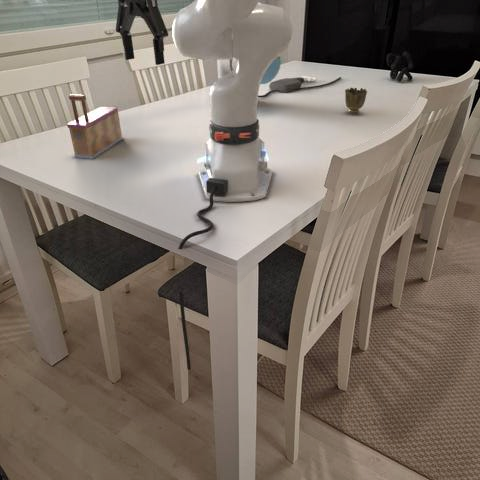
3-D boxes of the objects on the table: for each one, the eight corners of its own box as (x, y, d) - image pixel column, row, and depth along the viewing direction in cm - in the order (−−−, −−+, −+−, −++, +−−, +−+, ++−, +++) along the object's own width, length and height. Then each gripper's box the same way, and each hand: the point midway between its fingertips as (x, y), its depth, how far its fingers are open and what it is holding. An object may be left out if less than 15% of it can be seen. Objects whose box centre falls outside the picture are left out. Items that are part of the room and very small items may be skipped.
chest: (92, 159, 126) (86, 128, 121) (75, 157, 127) (68, 127, 123) (122, 139, 140) (118, 111, 135) (106, 137, 141) (101, 110, 136)
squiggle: (400, 92, 202) (376, 71, 205) (417, 76, 202) (392, 56, 205) (405, 81, 191) (380, 59, 194) (423, 64, 191) (397, 42, 194)
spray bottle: (266, 89, 189) (298, 79, 205) (288, 93, 183) (318, 83, 199) (266, 82, 188) (298, 73, 204) (288, 85, 182) (319, 76, 198)
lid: (85, 129, 121) (78, 98, 116) (67, 127, 122) (60, 97, 118) (118, 111, 135) (113, 83, 131) (101, 110, 136) (96, 82, 132)
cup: (340, 114, 157) (342, 91, 153) (346, 109, 163) (348, 86, 159) (361, 116, 154) (364, 93, 150) (366, 111, 160) (369, 88, 156)
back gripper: (94, -23, 123) (108, 59, 134) (153, -23, 109) (163, 68, 121) (117, -24, 128) (128, 55, 139) (176, -24, 114) (183, 64, 125)
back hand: (144, 61), depth 130 cm, fingers open, 13 cm apart
